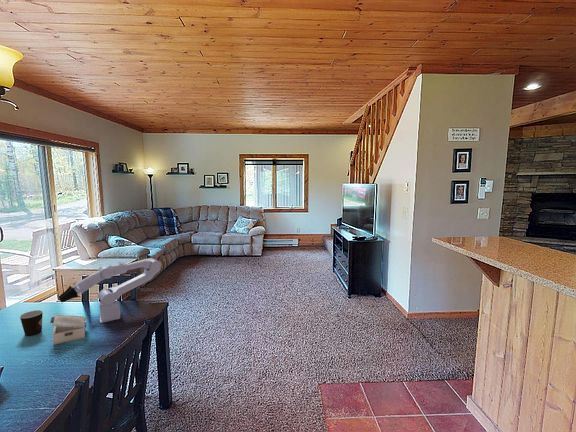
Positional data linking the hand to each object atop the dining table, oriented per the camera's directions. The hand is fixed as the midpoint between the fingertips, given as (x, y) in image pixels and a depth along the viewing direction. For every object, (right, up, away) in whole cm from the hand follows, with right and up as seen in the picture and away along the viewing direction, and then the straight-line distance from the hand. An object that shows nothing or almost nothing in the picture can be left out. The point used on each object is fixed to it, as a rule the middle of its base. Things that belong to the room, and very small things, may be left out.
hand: (59, 299), depth 149 cm
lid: (+5, -10, -2) cm, 12 cm away
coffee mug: (-14, -17, +3) cm, 22 cm away
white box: (+6, -17, -1) cm, 18 cm away
